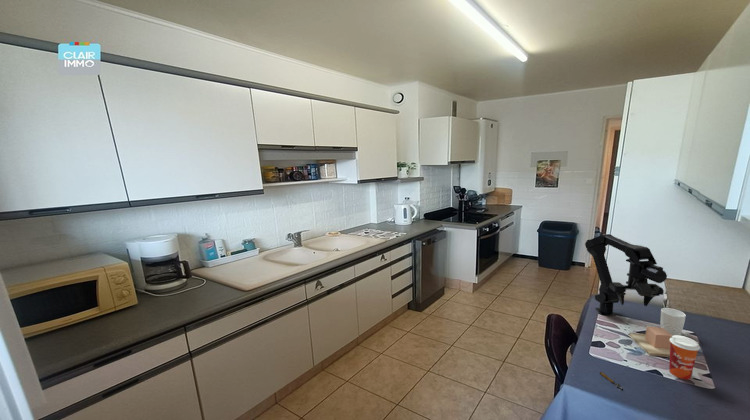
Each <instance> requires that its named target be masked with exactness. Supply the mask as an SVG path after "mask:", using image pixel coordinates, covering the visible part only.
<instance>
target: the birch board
mask: <svg viewBox="0 0 750 420" xmlns="http://www.w3.org/2000/svg"><path fill="white" fill-rule="evenodd" d="M645 335H646V333H638V332H637V333H636V332H629V333H628V336H629V337H630V338H631V339H632V340H633V341H634V343H636V344H637V345H638V346H639V347H640V348H641V349H642V350H643V351H644V352H645V353H646V354H647V355H648V356H650V357H651V356H652V357H663V358H664V357H666V358H670V349H666V348H654V347H653V346H652V345H651V344H650V343H649V342H648V341H647V340H646V339H645Z"/></svg>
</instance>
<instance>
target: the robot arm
mask: <svg viewBox="0 0 750 420" xmlns="http://www.w3.org/2000/svg"><path fill="white" fill-rule="evenodd" d="M584 245H585V248H586V251H587V253H589V254H590V255H591V257H592V258H593V262H594V265H595V268H596V272H597V275H598V277H599V278H598V279H599V281H600V286H599V288H598V291H599V293H597V294H596V295H594V300H595V301H596V302H598V303H599V305H598V307H595V310H596V311H597V312H598V313H599V314H600V315H601V316H612V317H613V316H617V314H616V313H615V312H614V304H619V302H620V305H622V306H624V304H625V296H626V295H627V293H626V291H628V290H629V291H636V292H637V294H638V295H639V296H640V297H643V305H644V307H647V306H648V305H649V304H650V302H651V301H652V299H653V298H655V297H660V295H664V292H665V290H664V289H663V287H661V286H659V285H658V284H662V283H664V282H665V281H666V279H667V277H668V274H667V272H666V271H665V270H664V267H662V266H659V265H657V264H658V263H657V261H656V259H655V257H654V255H653V253H652V251H651V249H650V248H649V247H647V246H643V245H638V244H632V243H630V242H628V241H625V240H624V239H623V240H622V239H621V238H618V237H616V236H613V234H607V233H606V234H605V233H604V234H601V235H597V236H596V237H593V238H591V239H587V240H586V241H585V243H584ZM606 246H607V247H608V246H611V247H613V248H615V249H616V250H619V251H622V252H623V253H624V255H625V257H627V259H625V261H626V262H628V263H629V270H628V272H627V273H626V276H628V277H627V278H628V279H627V281H626V282H625V284H626V285H625V284H622V283H621V282H620V281H619V282H614V281H613V279H612V275H611V272H610V270H609V266H608V264H607V263H608V262H607V259H606V256H605V254H606V251H607V247H606ZM648 280H649V281H652V282H654V283H649V282H648Z"/></svg>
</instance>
